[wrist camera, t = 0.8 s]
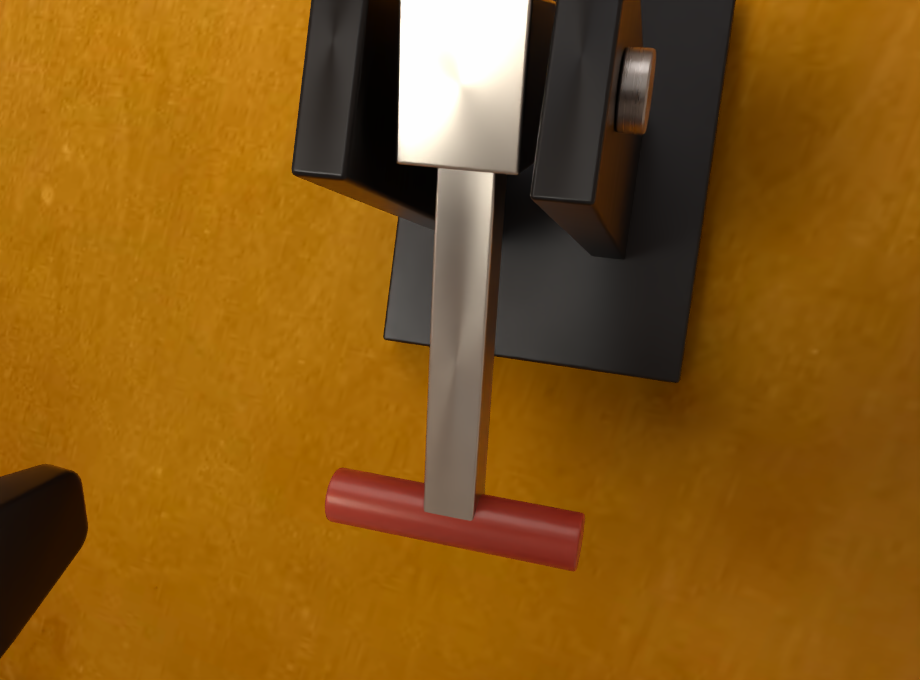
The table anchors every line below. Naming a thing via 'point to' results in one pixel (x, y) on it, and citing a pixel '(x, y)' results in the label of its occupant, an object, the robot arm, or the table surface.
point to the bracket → (547, 176)
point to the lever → (465, 271)
